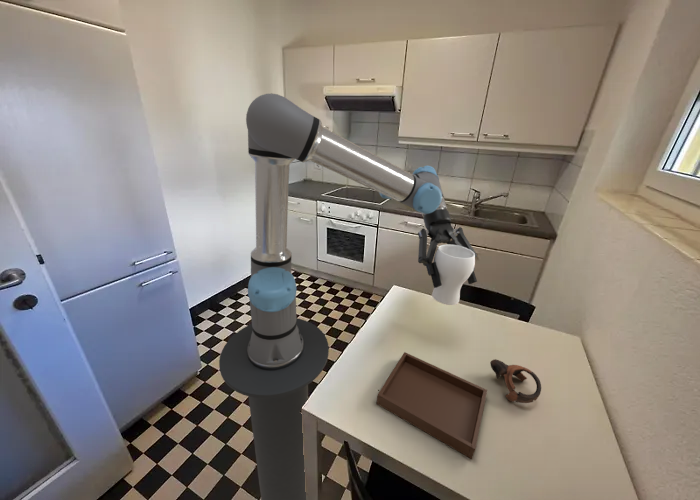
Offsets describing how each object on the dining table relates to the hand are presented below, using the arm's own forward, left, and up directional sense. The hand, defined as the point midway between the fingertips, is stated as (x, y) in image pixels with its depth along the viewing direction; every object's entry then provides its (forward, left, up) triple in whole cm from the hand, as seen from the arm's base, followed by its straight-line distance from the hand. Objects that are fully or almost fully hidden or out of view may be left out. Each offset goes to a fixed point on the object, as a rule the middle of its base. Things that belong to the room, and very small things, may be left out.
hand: (455, 284), depth 77 cm
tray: (+3, -21, -22) cm, 30 cm away
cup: (-2, +2, -6) cm, 7 cm away
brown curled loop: (+19, -5, -22) cm, 30 cm away
